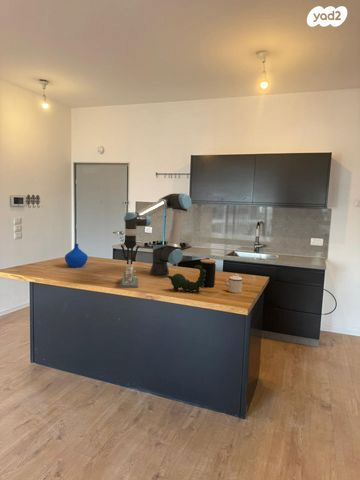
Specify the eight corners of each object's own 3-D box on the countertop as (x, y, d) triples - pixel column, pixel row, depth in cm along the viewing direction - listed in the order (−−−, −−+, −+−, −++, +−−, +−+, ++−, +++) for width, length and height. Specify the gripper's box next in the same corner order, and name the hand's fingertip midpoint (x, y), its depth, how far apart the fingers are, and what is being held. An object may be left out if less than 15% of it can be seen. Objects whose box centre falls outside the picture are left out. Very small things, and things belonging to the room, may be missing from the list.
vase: (65, 264, 286) (65, 242, 284) (87, 264, 291) (87, 242, 289) (64, 268, 268) (64, 245, 266) (87, 268, 274) (88, 245, 272)
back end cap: (135, 278, 240) (135, 270, 240) (135, 279, 237) (135, 271, 237) (123, 277, 239) (123, 270, 238) (123, 278, 236) (123, 271, 236)
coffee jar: (205, 283, 240) (206, 258, 238) (217, 286, 233) (218, 260, 231) (196, 285, 231) (197, 260, 229) (208, 288, 225) (210, 262, 223)
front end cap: (135, 284, 222) (135, 276, 222) (135, 285, 219) (135, 277, 219) (122, 284, 221) (122, 276, 221) (122, 285, 218) (122, 277, 218)
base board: (138, 279, 241) (138, 277, 241) (137, 287, 219) (138, 285, 219) (121, 279, 240) (121, 277, 239) (119, 287, 218) (119, 285, 218)
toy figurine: (203, 293, 219) (167, 286, 223) (207, 265, 217) (170, 259, 221) (202, 297, 210) (163, 290, 214) (206, 268, 208) (167, 261, 211)
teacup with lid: (243, 290, 223) (244, 273, 222) (240, 293, 215) (241, 276, 214) (225, 288, 228) (226, 271, 226) (222, 291, 219) (223, 274, 218)
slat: (132, 275, 240) (132, 267, 239) (131, 282, 218) (131, 273, 218) (126, 275, 239) (127, 267, 239) (125, 282, 218) (125, 273, 217)
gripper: (140, 234, 230) (139, 268, 233) (121, 234, 228) (120, 267, 231) (140, 235, 223) (138, 270, 225) (120, 235, 221) (119, 269, 224)
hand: (129, 269), depth 228 cm, fingers closed
